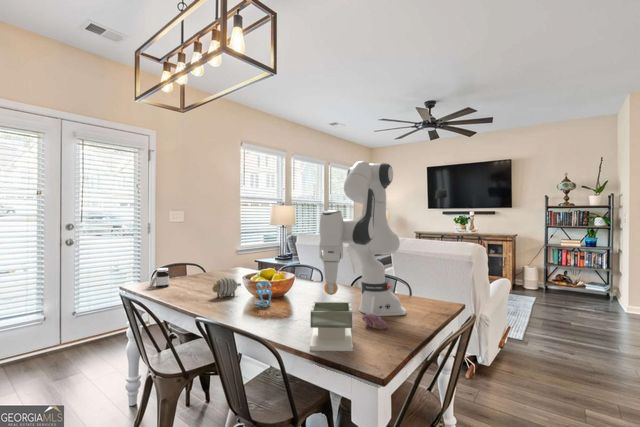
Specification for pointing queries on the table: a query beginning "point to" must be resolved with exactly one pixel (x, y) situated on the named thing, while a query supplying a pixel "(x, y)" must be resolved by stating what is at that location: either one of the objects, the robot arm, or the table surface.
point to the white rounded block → (160, 278)
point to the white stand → (331, 339)
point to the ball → (328, 289)
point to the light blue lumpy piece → (263, 293)
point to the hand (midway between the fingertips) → (331, 290)
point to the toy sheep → (225, 286)
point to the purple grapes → (377, 321)
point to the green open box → (331, 315)
